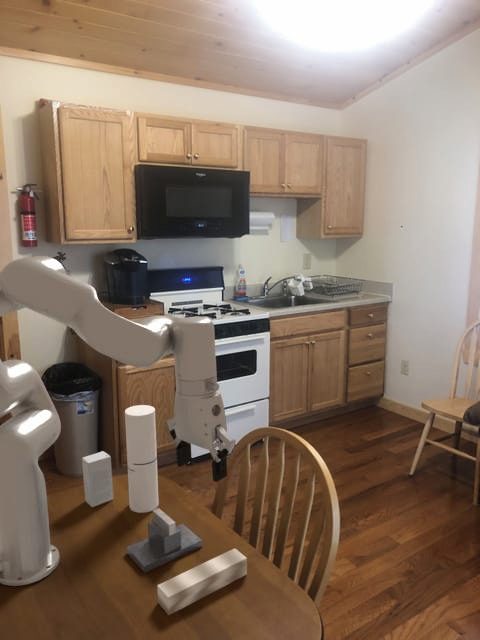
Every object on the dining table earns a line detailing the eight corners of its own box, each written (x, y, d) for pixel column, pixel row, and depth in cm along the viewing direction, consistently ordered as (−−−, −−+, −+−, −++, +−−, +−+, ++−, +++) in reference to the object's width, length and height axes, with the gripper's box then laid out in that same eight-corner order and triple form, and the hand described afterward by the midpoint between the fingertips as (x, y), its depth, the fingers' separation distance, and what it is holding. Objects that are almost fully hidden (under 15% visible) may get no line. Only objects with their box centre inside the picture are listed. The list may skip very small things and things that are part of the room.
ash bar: (168, 616, 94) (168, 597, 94) (158, 604, 97) (157, 585, 97) (246, 575, 105) (246, 557, 104) (234, 565, 108) (234, 548, 107)
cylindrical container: (152, 514, 126) (148, 416, 122) (124, 511, 128) (119, 414, 123) (162, 498, 133) (159, 406, 128) (136, 496, 135) (132, 404, 130)
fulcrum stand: (144, 572, 105) (143, 537, 104) (126, 553, 112) (125, 519, 110) (202, 546, 114) (201, 513, 112) (182, 529, 120) (181, 497, 119)
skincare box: (106, 493, 136) (103, 450, 134) (113, 499, 133) (111, 456, 131) (84, 501, 132) (81, 457, 130) (91, 508, 129) (88, 463, 127)
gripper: (245, 388, 93) (249, 477, 96) (180, 372, 104) (185, 452, 107) (215, 399, 87) (220, 493, 90) (150, 381, 99) (157, 465, 102)
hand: (201, 471), depth 99 cm, fingers open, 9 cm apart
